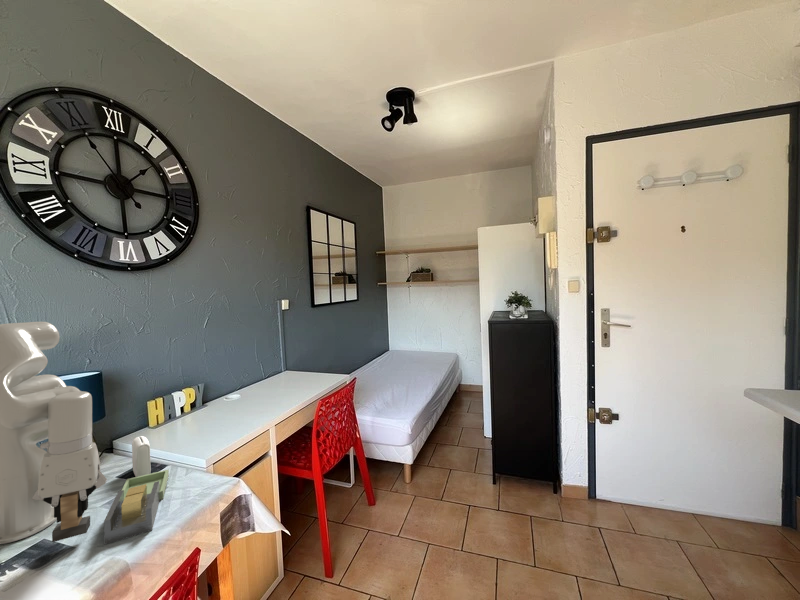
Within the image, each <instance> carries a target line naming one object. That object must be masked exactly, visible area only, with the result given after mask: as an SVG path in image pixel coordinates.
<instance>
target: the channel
mask: <svg viewBox="0 0 800 600" xmlns="http://www.w3.org/2000/svg"><path fill="white" fill-rule="evenodd" d="M123 501H124V490H122V489H121V490H119V491H117V494H116V495H115V497H114V499H113V502H112V504H111V506H110V508H109V509H108V512H107V513H106V514H107V515H106V516H105V518H104V520H103V533H104V536H103V537H104V545H109V544H112V543H115V542H118V541H122V540H124V539H127V538H132V537H134V536H138V535H141V534H145V533H147V532H150V531H153V529H154V524H155V522H156V521H155V520H156V517H157V513H158V510H159V506H160V505H159V504H160V502H161V500H160V490H159V481H158V482H154V485H153V488H152V491H151V493H150V494H147V499H146V502H145V505H144V508H143V511H142V514H141V515H139V516H136V517H132V518H129V519H125V520H122V503H123Z"/></svg>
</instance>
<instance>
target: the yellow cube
mask: <svg viewBox="0 0 800 600" xmlns="http://www.w3.org/2000/svg"><path fill="white" fill-rule="evenodd" d="M143 492H144V505H145V502H146V499H147V484H145V485H141V486H137V487H133V488H129V489H128V492H127V494H126V497H127V496H131V495H135V494H139V493H143Z"/></svg>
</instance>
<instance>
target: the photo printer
mask: <svg viewBox="0 0 800 600" xmlns="http://www.w3.org/2000/svg"><path fill="white" fill-rule="evenodd" d="M131 456H132V457H131V458H132V459H131V461H132V472H133V474H134V476H135V477H139V476H143V475H147V474H151V471H152V469H151V468H152V467H151V445H150V442H149V439H148V438H147V437H146V436H143V435H140V436H136V437H135V438H134V439H133V440H132V441H131Z"/></svg>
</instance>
